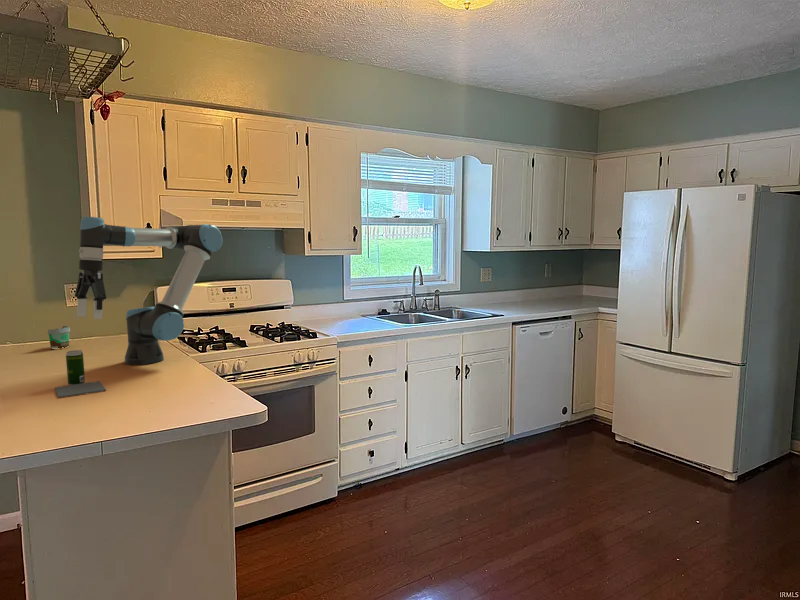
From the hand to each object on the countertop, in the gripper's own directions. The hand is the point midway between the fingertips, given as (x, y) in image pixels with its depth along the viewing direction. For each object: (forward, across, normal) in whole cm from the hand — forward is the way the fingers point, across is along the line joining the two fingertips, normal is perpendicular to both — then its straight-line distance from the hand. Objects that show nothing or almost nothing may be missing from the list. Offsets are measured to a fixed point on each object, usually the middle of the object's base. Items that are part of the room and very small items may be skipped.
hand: (89, 317), depth 204 cm
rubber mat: (+24, +10, -7) cm, 27 cm away
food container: (+21, -78, +22) cm, 84 cm away
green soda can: (+24, +1, -4) cm, 25 cm away
